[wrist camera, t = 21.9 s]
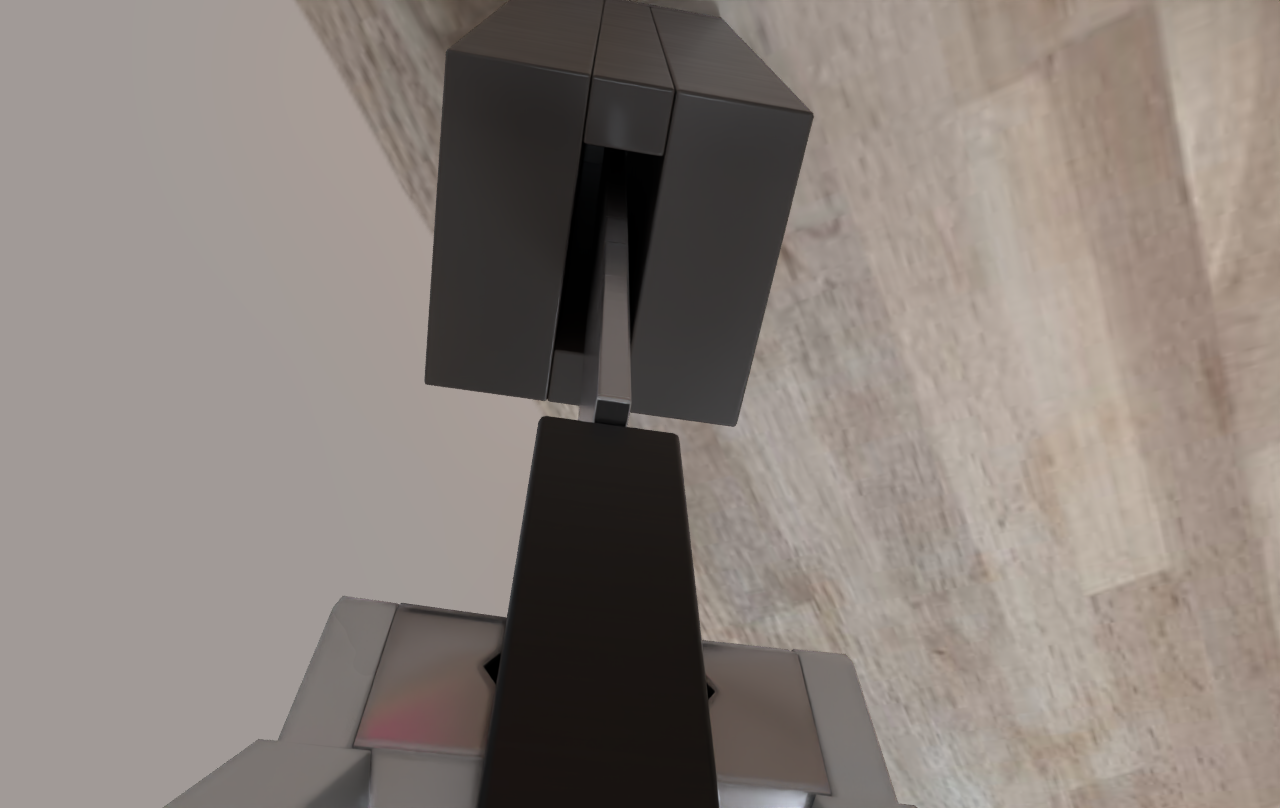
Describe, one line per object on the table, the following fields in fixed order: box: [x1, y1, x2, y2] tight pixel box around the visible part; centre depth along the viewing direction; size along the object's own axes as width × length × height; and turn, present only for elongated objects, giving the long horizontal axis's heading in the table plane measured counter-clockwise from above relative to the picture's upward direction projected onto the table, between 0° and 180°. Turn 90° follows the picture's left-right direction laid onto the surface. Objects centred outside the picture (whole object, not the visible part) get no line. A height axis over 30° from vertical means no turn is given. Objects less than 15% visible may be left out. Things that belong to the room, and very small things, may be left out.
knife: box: [476, 147, 720, 808], centre depth 16 cm, size 2×3×25 cm, turn 170°
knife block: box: [425, 0, 814, 427], centre depth 27 cm, size 7×7×18 cm
